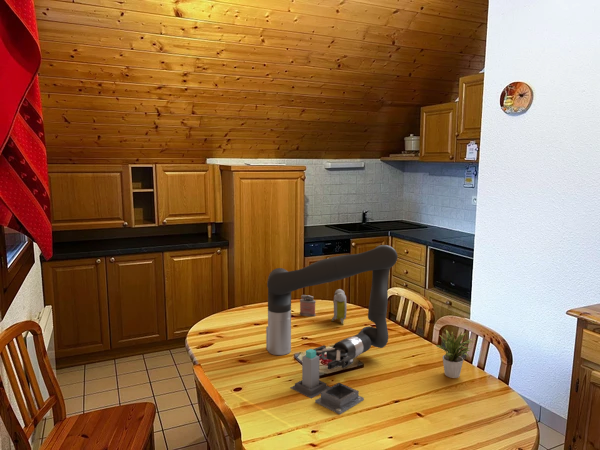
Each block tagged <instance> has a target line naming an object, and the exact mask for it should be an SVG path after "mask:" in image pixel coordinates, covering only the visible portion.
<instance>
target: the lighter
mask: <svg viewBox="0 0 600 450" xmlns="http://www.w3.org/2000/svg"><path fill="white" fill-rule="evenodd" d="M300 297H301V299H299V305H300V306H299V315H300V316H304V317H305V316H306V317H317V316H316V302H317V301H316V299H314V295H313V296H312V295H310V294H308V295H306V294H302V295H300Z"/></svg>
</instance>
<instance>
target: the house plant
mask: <svg viewBox="0 0 600 450" xmlns="http://www.w3.org/2000/svg"><path fill="white" fill-rule="evenodd" d="M437 335H438V336H439V337H440V339H441V341H442V342H443V344H444V346H443V345H440V344H438V345H435V347H437V348H440V349H441V350H443V351H444V352H445V354H443V355H442V363H443V371H444V375H445V376H446V377H448V378H452V379H458V378H460V375H461V371H462V368H463V363H464V358H463V355H465V356H467V357H468V358H470V356H469V354H468V353H467V352H470V351H471V350H469V349H472V347H467V346H465V345H466V344H471V343H472V344H473V343H474V341H473V340H475V338H471V339H467V340H465V341H463V339H464V336H465V335H466V332H465V333H463V331H460V333H459V334H458V336H457V337H456V339H455V337H454V332H453V331H451V334H450V332H449V331H448V330H447V329H445V335H446V338H444V337H443V336H442V335H440V334H437ZM462 341H463V342H462Z"/></svg>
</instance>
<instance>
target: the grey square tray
mask: <svg viewBox="0 0 600 450" xmlns="http://www.w3.org/2000/svg"><path fill="white" fill-rule="evenodd" d="M330 387H331V386H329V385H328V384H327V383H326V382H324V381H322V380H320V379H319V385H318V386H316V387H314V388H312V389H310V388H308V387H305V386H303V385H302V380H299V381H297V382H295V383H294V385H293V386H291V387H289V389H291V390H293V391H294V392H296V393H299V394H301V395H303V396H306V397H307V398H310V399H311V400H312V399H313V398H315V397H317V396H319V395H321V392H322V391H324V390H326V389H328V388H330Z"/></svg>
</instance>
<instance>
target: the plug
mask: <svg viewBox="0 0 600 450" xmlns="http://www.w3.org/2000/svg"><path fill="white" fill-rule="evenodd" d="M313 349H314V348H309V349H307V350H305V354H304V355H303V356H302V359H301V360H302V362H301V363H302V366H301V368H302V370H301V371H302V372H301V373H302V374H301V376H302V385H303V386H305V387H308V388H310V389H312V388H314V387H316V386H318V385H319V380H320V359H319V356H320V355H319V356H317V355H316V351H315V350H313Z"/></svg>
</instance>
